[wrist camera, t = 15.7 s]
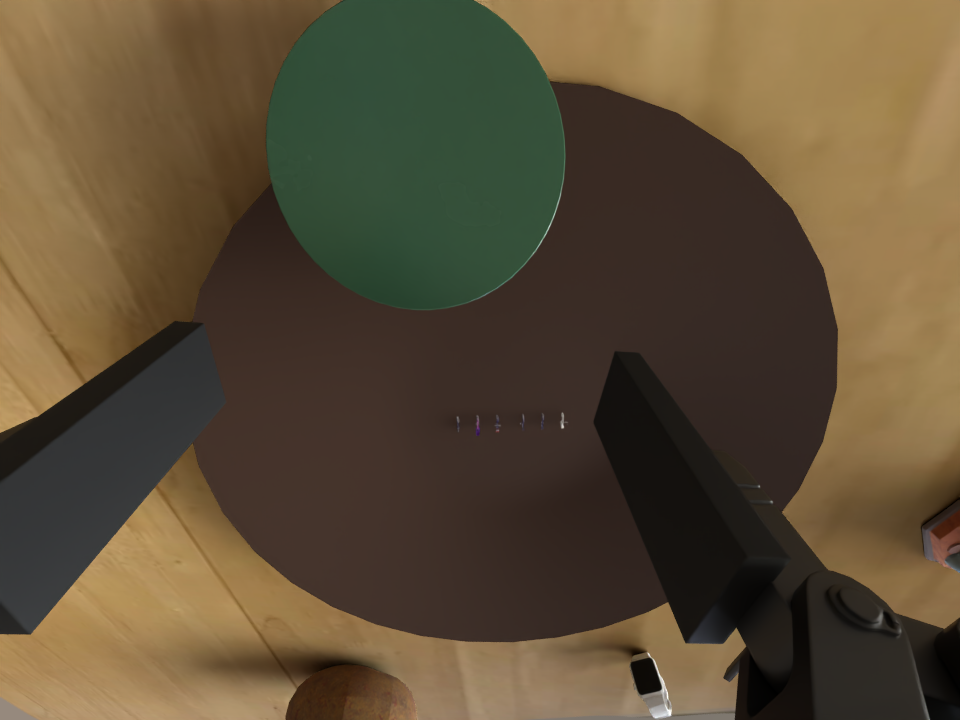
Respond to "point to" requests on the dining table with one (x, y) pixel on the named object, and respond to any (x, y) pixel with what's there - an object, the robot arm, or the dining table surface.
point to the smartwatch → (650, 685)
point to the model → (944, 537)
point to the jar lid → (415, 149)
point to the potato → (352, 696)
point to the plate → (515, 388)
